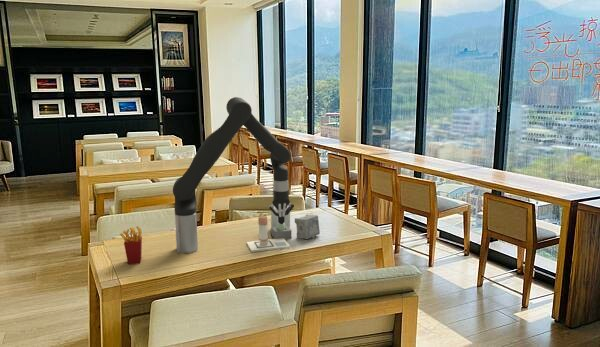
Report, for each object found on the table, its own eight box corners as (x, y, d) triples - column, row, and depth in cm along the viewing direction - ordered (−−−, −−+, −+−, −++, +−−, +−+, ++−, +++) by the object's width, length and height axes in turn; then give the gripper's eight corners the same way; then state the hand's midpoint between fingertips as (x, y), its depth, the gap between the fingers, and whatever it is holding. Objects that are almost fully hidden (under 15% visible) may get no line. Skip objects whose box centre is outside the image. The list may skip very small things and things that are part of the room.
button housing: (275, 240, 224) (275, 232, 223) (271, 234, 232) (271, 226, 231) (291, 238, 227) (291, 230, 226) (286, 232, 234) (286, 225, 233)
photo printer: (287, 225, 246) (286, 202, 243) (291, 227, 242) (291, 204, 240) (269, 228, 240) (269, 205, 237) (274, 231, 237) (273, 207, 234)
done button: (278, 236, 227) (278, 224, 226) (277, 234, 230) (276, 222, 229) (285, 236, 228) (285, 224, 227) (283, 233, 231) (283, 222, 230)
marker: (261, 246, 214) (259, 219, 211) (258, 243, 218) (257, 216, 215) (269, 245, 215) (268, 218, 212) (266, 242, 219) (265, 215, 216)
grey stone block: (307, 232, 235) (307, 212, 233) (320, 236, 230) (320, 215, 227) (294, 237, 228) (294, 216, 226) (306, 241, 223) (306, 220, 220)
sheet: (251, 252, 209) (251, 250, 209) (246, 243, 220) (246, 241, 219) (290, 247, 215) (290, 245, 214) (283, 239, 225) (283, 237, 225)
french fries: (142, 264, 196) (139, 230, 193) (121, 265, 195) (118, 231, 191) (144, 256, 205) (142, 223, 202) (124, 257, 203) (121, 224, 200)
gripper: (269, 191, 218) (269, 227, 222) (296, 189, 222) (296, 224, 226) (265, 188, 225) (266, 222, 229) (292, 186, 229) (292, 220, 233)
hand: (281, 223), depth 228 cm, fingers closed
